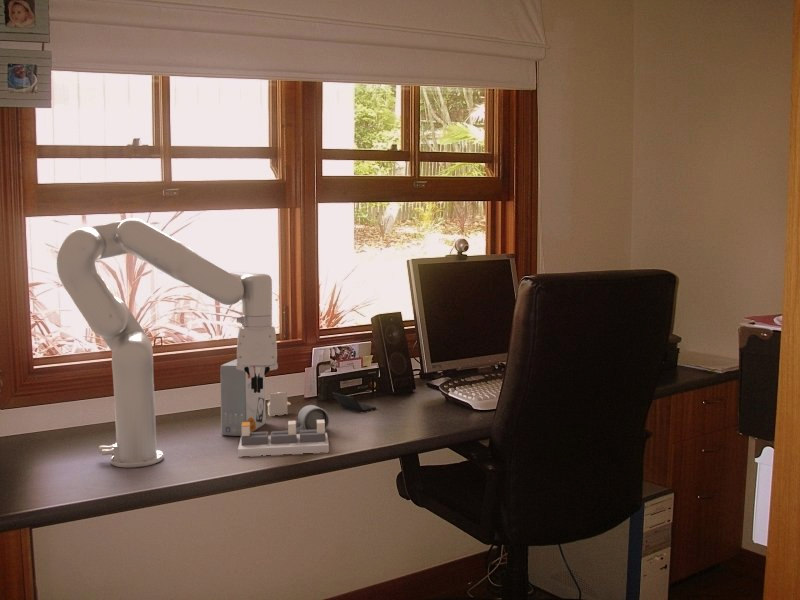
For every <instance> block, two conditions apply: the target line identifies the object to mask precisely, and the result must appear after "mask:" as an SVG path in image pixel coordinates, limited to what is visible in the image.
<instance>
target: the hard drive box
mask: <svg viewBox="0 0 800 600" xmlns="http://www.w3.org/2000/svg"><path fill="white" fill-rule="evenodd" d="M236 366H237V358H236V359H233V360H231V361H228V362H226V363H223V364H222V365H220V367H219V368H220V372H219V373H220V432H221V433H220V435H221V436H232V437H233V436H234V437H235V436H236V437H238V436H239V437H242V428H241V425H242V422H250V432H256V430H258V429H259V428H261V427H262V426H264V425H265V424H266V422H267V421H266V420H267V419H266V374H265V375H264V377H263V389H260V393H258V392H256V393H254V389H251V377H250V375H248V374H247V373H246V372H245V371H242V370H238V369H236ZM260 367H261V366H254V369H255V373H256V376H257V377H258V374H259V373H260Z"/></svg>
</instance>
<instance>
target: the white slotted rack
mask: <svg viewBox="0 0 800 600" xmlns="http://www.w3.org/2000/svg"><path fill="white" fill-rule="evenodd" d="M296 422H297V421H296V420H288V422H287V428H288V429H287V430H272V431H271V432H270V434H269V431H253V432H250V436H240V440H239V444H238V448H237V458H243V457H242V456H250V457H265V456H266V455H271V456H284V455H283V454H292V455H304V454H303V453H313V454H321V453H320V452H325V453H324V454H326V453H327V454H329V453H330V445H329V438H328V432H326V431H325V422H324V420H317V429H313V430H300V433H299V434H296ZM328 452H329V453H328ZM261 455H263V456H261ZM266 457H267V456H266Z"/></svg>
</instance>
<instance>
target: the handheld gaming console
mask: <svg viewBox="0 0 800 600" xmlns="http://www.w3.org/2000/svg"><path fill="white" fill-rule="evenodd" d="M332 395H333V397H334V398H335V400H336V401H337V402H338V404H339V405H340V407H339V408H342V407H343V409H346V408H347V410H350V409H351V410H350V411H353V410H356V411H355V412H357V411H359V412H358V413H361V412H364V413H367V411H368V412H372V411H371V410H373V411H376V410H377V407H376V406H373V405H369V404H365V403H362V402H361V403H360V402H358V400H357V399H356V398H355V397H354V396H353V397H352V396H349V395H345V394H343V393H342V394H341V393H338V392H332ZM375 409H376V410H375Z"/></svg>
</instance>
